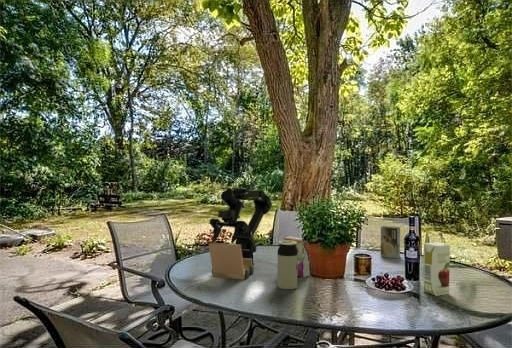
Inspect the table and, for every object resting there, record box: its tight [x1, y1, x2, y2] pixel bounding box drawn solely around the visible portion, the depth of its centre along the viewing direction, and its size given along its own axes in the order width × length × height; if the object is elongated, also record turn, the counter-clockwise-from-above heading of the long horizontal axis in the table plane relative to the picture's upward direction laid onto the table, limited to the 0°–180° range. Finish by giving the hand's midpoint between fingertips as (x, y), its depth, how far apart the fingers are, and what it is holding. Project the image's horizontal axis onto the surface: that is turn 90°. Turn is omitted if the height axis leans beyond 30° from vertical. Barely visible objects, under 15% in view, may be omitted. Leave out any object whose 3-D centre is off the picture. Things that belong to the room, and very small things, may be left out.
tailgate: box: [208, 242, 244, 275], centre depth 161 cm, size 1×14×14 cm, turn 74°
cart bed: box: [211, 258, 255, 280], centre depth 169 cm, size 13×16×6 cm
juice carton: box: [422, 241, 451, 297], centre depth 146 cm, size 8×9×19 cm
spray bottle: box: [283, 235, 310, 278], centre depth 169 cm, size 11×5×16 cm, turn 47°
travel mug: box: [276, 239, 298, 291], centre depth 152 cm, size 8×8×18 cm
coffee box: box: [380, 225, 401, 259], centre depth 207 cm, size 9×6×16 cm
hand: (223, 241), depth 171 cm, fingers open, 9 cm apart
